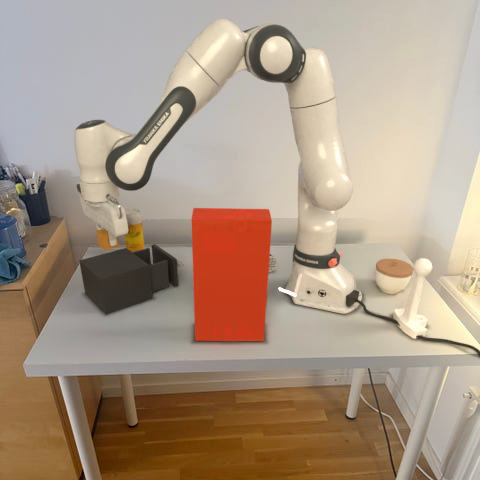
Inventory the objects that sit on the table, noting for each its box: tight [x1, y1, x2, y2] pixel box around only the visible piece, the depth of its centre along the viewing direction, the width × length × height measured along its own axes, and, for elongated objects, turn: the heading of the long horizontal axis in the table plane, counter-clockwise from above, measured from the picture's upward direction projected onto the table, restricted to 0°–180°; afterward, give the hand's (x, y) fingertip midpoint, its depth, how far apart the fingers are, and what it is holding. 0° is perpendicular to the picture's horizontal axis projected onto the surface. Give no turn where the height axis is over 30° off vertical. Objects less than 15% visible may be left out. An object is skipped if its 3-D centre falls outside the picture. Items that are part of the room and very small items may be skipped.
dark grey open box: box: [78, 247, 153, 315], centre depth 131 cm, size 14×14×11 cm
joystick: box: [392, 257, 433, 339], centre depth 119 cm, size 11×8×20 cm
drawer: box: [132, 243, 185, 293], centre depth 137 cm, size 17×13×9 cm
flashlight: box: [268, 253, 278, 273], centre depth 153 cm, size 15×5×5 cm, turn 25°
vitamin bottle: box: [124, 208, 145, 252], centre depth 153 cm, size 6×6×15 cm
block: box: [95, 229, 120, 251], centre depth 123 cm, size 4×4×4 cm
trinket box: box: [374, 258, 414, 295], centre depth 139 cm, size 11×11×9 cm
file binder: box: [190, 207, 273, 342], centre depth 111 cm, size 8×17×32 cm, turn 92°
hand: (108, 241), depth 123 cm, fingers closed on block, 4 cm apart
